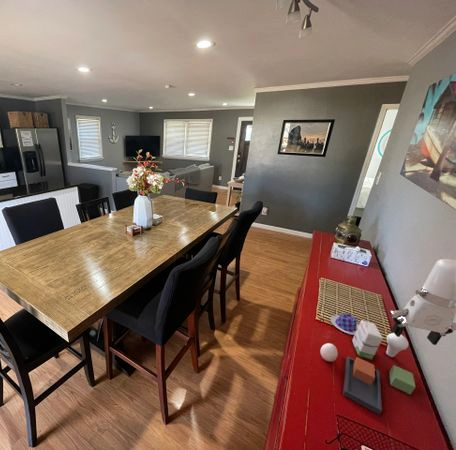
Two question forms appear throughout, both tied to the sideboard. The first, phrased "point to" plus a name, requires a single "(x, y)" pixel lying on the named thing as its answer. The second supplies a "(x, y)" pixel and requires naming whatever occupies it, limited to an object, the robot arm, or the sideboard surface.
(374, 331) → the ink box
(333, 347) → the egg
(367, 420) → the sideboard surface
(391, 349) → the lightbulb
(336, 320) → the patterned bowl
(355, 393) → the holder
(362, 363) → the orange block
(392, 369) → the green block
